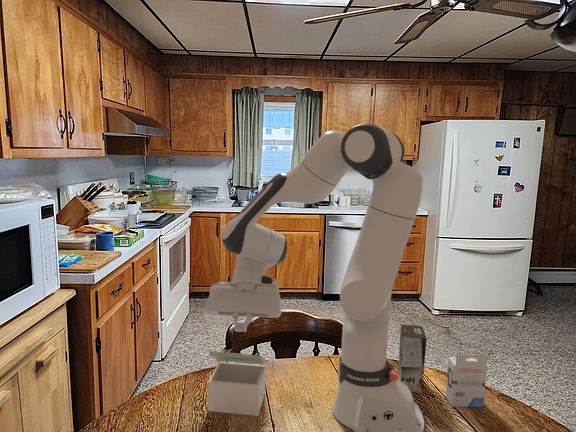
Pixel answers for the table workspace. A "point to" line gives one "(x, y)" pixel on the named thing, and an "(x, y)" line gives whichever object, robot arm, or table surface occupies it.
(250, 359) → the box lid
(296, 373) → the table surface
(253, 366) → the storage box
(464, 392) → the ink box
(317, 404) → the table surface
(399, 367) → the coffee box
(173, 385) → the table surface
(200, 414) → the table surface
